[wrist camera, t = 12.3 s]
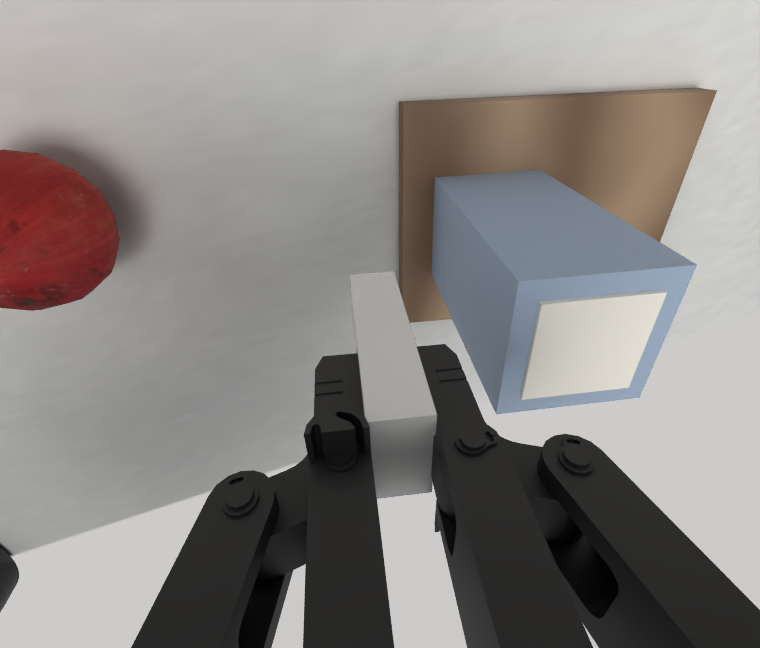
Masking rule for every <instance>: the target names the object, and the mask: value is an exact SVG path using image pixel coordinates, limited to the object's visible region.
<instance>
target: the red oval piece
mask: <svg viewBox="0 0 760 648" xmlns="http://www.w3.org/2000/svg"><path fill="white" fill-rule="evenodd" d="M118 244H119V236H118V231H117V227H116V222H115V218H114V215H113V213H112V211H111V210H110V208H109V207H108V205H107V203H106V202H105V200H104V199H103V197H102V195H101V194H100V192H99V190H98V189H97V188H95V187H94V186H93V185H92V184H91V183H90V182H88V181H87V180H86V179H85V178H84V177H83V176H81V175H80V174H79V173H78V172H76V171H74V170H72V169H70V168H68V167H66V166H64V165H62V164H60V163H57V162H55V161H53V160H51V159H49V158H47V157H44V156H42V155H39V154H36V153H28V152H19V151H10V150H0V308H9V309H20V310H42V309H46V308H50V307H54V306H58V305H62V304H66V303H70V302H73V301H76V300H79V299H82V298H84V297H85V296H86V295H88V294H89V293H90V292H91V291H93V290H94V289H95V288H96V287H97V286H98V285H99V284H100V283H101V282H102V281H103V280H104V279H105V278H106V277H107V276H108V275H109V274H110V273H111V272H112V269H113V267H114V264H115V261H116V255H117V250H118Z"/></svg>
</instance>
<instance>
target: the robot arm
mask: <svg viewBox="0 0 760 648" xmlns="http://www.w3.org/2000/svg"><path fill="white" fill-rule="evenodd" d="M350 283H351V296H352V308H353V321H354V334H355V345H356V354H345V355H334V356H323V357H322V359H321V360H320V362H319V364H318V365H317V367H316V369H315V397H314V417H313V418H312V419H311V420H310V421H309V423H308V424H307V426H306V429H305V432H304V438H305V443H306V448H307V453H308V454H307V455H306V457H305V458H304V459H303V460H302V461H301V462H300V463H298V464H297V465H296V466H294V467H292V468H290V469H288V470H286V471H284V472H281V473H279V474H277V475H274V476H272V477H270V478H268V477H267V476H266V475H265V474H264V473H260V472H257V471H253V470H252V471H240V472H238V473H235V474H233V475H230V476H228V477H227V478H225V479H224V480H223V481H221V482H220V483H219V484H217V485H216V487H215V488H214V489H213V491H212V492H211V493H210V495H209V496H208V498H207V500H206V502H205V504H204V506H203V508H202V510H201V512H200V514H199V516H198V518H197V520H196V522H195V524H194V526H193V528H192V530H191V532H190V534H189V535H188V537H187V539H186V541H185V543H184V545H183V547H182V549H181V551H180V553H179V555H178V557H177V559H176V561H175V563H174V565H173V567H172V569H171V571H170V573H169V575H168V577H167V579H166V581H165V582H164V584H163V586H162V589H161V591H160V592H159V594H158V596H157V598H156V600H155V602H154V604H153V606H152V608H151V610H150V612H149V614H148V616H147V618H146V620H145V622H144V624H143V626H142V628H141V630H140V632H139V633H138V635H137V637H136V640H135V641H134V643H133V645H132V647H131V648H271V646H272V643H273V640H274V636H275V633H276V628H277V625H278V622H279V618H280V615H281V611H282V608H283V604H284V601H285V597H286V594H287V590H288V586H289V583H290V579H291V576H292V572H293V570H294V569H296V568H298V567H300V566H302V565H304V564H306V576H305V607H304V609H305V610H304V638H303V640H304V641H303V648H394V644H393V634H392V625H391V617H390V608H389V600H388V591H387V583H386V575H385V566H384V558H383V550H382V541H381V532H380V524H379V515H378V507H377V498H386V497H394V496H403V495H411V494H419V493H428V492H432V481H433V485H434V489H435V493H436V497H437V501H436V513H435V532H439V531H440V532H441V536H442V541H443V545H444V549H445V554H446V558H447V562H448V567H449V571H450V575H451V579H452V583H453V588H454V592H455V597H456V601H457V605H458V609H459V614H460V618H461V622H462V627H463V631H464V635H465V639H466V644H467V648H593V646H592V644H591V642H590V640H589V637H588V635H587V633H586V631H585V628H584V626H585V627H586V629H587V630H588V632H589V633H590V635H591V636H592V638H593V639H594V640H595V642H596V643H597V645H598V647H599V648H760V610H759V609H758V608H757V607H756V606H755V605H754V604H753V603H752V602H751V601H750V600H749V599H748V598H747V597H746V596H745V595H744V594H743V593H742V592H741V591H740V590H739V589H738V588H737V587H736V586H735V585H734V584H733V583H732V582H731V580H730V579H729V578H727V577H726V575H725V574H724V573H723V572H722V571H720V569H719V568H718V567H717V566H716V565H715V564H714V563H713V562H712V561H711V560H710V559H709V558H708V557H707V556H706V555H705V554H704V553H703V552H702V551H701V550H700V549H699V548H698V547H697V546H696V545H695V544H694V543H693V542H692V541H691V540H690V539H689V538H688V537H687V536H686V535H685V534H684V533H683V532H682V531H681V530H680V529H679V528H678V527H677V526H676V525H675V524H674V523H673V522H672V521H671V520H670V519H669V518H668V517H667V516H666V515H665V514H664V513H663V512H662V511H661V510H660V509H659V508H658V507H657V506H656V505H655V504H654V503H653V502H652V501H651V500H650V499H649V498H648V497H647V496H646V495H645V494H644V493H643V492H642V491H641V490H640V489H639V488H638V487H637V486H636V485H635V483H634V482H633V481H631V479H630V478H629V477H628V476H627V475H626V474H625V473H624V472H623V471H622V470H621V469H620V468H619V467H618V466H617V465H616V464H615V463H614V462H613V461H612V460H610V458H609V457H608V456H607V455H606V454H605V453H604V452H603V451H602V450H601V449H599V448H598V447H597V446H596V445H594V444H593V443H592V442H590V441H588V440H586V439H583V438H581V437H579V436H574V435H568V434H563V435H556V436H553V437H551V438H550V439H548V440H547V441H546V442H545V444H544V446H543V447H539V446H533V445H527V444H520V443H516V442H512V441H509V440H507V439H504V438H502V437H500V436H499V435H498V434H497V432H496V431H495V430H494V429H492V428H491V427H490V426H488V425H487V424H486V423H485V421H484V419H483V417H482V415H481V412H480V410H479V407H478V405H477V403H476V400H475V398H474V395H473V393H472V391H471V388H470V386H469V383H468V381H467V380H466V376H465V374H464V371H463V370H462V367H461V364H460V362H459V359H458V357H457V355H456V354H455V353H454V352H453V351H452V350H451V349H450V348H449V347H447V346H446V345H445V344H441V345H430V346H419V347H417V346H416V343H415V340H414V336H413V333H412V330H411V326H410V323H409V320H408V316H407V313H406V310H405V306H404V303H403V300H402V296H401V293H400V290H399V286H398V283H397V280H396V276H395V273H394V271H390V272H377V273H364V274H352V275H350ZM18 578H19V571H18V568H17V566H16V563H15V562H14V560H13V559H12V558H11V557H10V556H9V555H8V554H7V553H6V552H5V551H4V550H3V549H2V548H0V612H1V610H2V609H3V607H4V605H5V604H6V602H7V600H8V598H9V597H10V595H11V593H12V591H13V589H14V588H15V586H16V584H17V582H18ZM582 623H583V624H584V626H583V624H582Z"/></svg>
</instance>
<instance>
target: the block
mask: <svg viewBox="0 0 760 648" xmlns="http://www.w3.org/2000/svg"><path fill="white" fill-rule="evenodd" d="M696 266H697V265H696V264H695V263H693V262H691V261H690V260H688V259H686V258H685V257H683V256H681V255H680V254H678V253H676V252H675V251H673V250H671V249H670V248H668V247H667V246H665V245H663V244H662V243H660V242H658V241H657V240H655V239H653V238H652V237H650V236H648V235H647V234H645V233H643V232H642V231H640V230H638V229H637V228H635V227H633V226H632V225H630V224H629V223H627V222H625V221H624V220H622V219H620V218H619V217H617V216H615V215H614V214H612V213H610V212H609V211H607V210H605V209H604V208H602V207H600V206H599V205H597V204H596V203H594V202H592V201H591V200H589V199H587V198H586V197H584V196H582V195H581V194H579V193H577V192H576V191H574V190H572V189H571V188H569V187H567V186H566V185H564V184H562V183H561V182H559V181H558V180H556V179H554V178H553V177H551V176H549V175H548V174H546V173H544V172H543V171H541V170H530V171H517V172H503V173H490V174H476V175H463V176H450V177H436V178H435V187H434V217H433V247H432V276H433V278H434V281H435V283H436V285H437V287H438V289H439V291H440V294H441V296H442V298H443V300H444V302H445V304H446V306H447V309H448V311H449V313H450V315H451V317H452V319H453V322H454V324H455V326H456V328H457V330H458V332H459V335H460V337H461V339H462V341H463V343H464V345H465V348H466V350H467V352H468V354H469V356H470V358H471V361H472V363H473V365H474V367H475V369H476V371H477V374H478V376H479V378H480V380H481V382H482V384H483V387H484V389H485V391H486V393H487V395H488V397H489V399H490V402H491V404H492V406H493V408H494V410H495V412H496V414H502V413H510V412H519V411H527V410H537V409H545V408H553V407H562V406H571V405H579V404H588V403H597V402H606V401H614V400H622V399H631V398H639V397H640V395H641V393H642V390H643V388H644V385H645V384H646V381H647V378H648V376H649V374H650V372H651V370H652V367H653V364H654V363H655V360H656V358H657V356H658V354H659V351H660V349H661V347H662V344H663V342H664V340H665V337H666V335H667V333H668V330H669V328H670V326H671V324H672V321H673V319H674V317H675V314H676V312H677V310H678V307H679V305H680V303H681V300H682V298H683V296H684V294H685V291H686V289H687V287H688V284H689V282H690V280H691V277H692V275H693V273H694V270H695V268H696Z"/></svg>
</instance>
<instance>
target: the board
mask: <svg viewBox="0 0 760 648" xmlns="http://www.w3.org/2000/svg"><path fill="white" fill-rule="evenodd" d="M716 92H717V90H709V89H701V88H684V89H662V90H641V91H619V92H598V93H576V94H555V95H533V96H512V97H490V98H468V99H447V100H425V101H404V102H399V215H400V293H401V296H402V300H403V303H404V306H405V310H406V313H407V316H408V320H409V323H411V322H422V321H433V320H445V319H452V317H451V315H450V313H449V311H448V309H447V306H446V304H445V302H444V300H443V298H442V296H441V294H440V291H439V289H438V287H437V285H436V283H435V281H434V278H433V276H432V247H433V217H434V187H435V178H436V177H450V176H463V175H476V174H490V173H503V172H517V171H530V170H541V171H543V172H544V173H546V174H548V175H549V176H551V177H553V178H554V179H556V180H558V181H559V182H561V183H562V184H564V185H566V186H567V187H569V188H571V189H572V190H574V191H576V192H577V193H579V194H581V195H582V196H584V197H586V198H587V199H589V200H591V201H592V202H594V203H596V204H597V205H599V206H600V207H602V208H604V209H605V210H607V211H609V212H610V213H612V214H614V215H615V216H617V217H619V218H620V219H622V220H624V221H625V222H627V223H629V224H630V225H632V226H633V227H635V228H637V229H638V230H640V231H642V232H643V233H645V234H647V235H648V236H650V237H652V238H653V239H655V240H657V241H658V242H660V240H661V237H662V235H663V232H664V229H665V227H666V224H667V221H668V219H669V216H670V214H671V211H672V208H673V206H674V203H675V200H676V198H677V195H678V192H679V190H680V187H681V184H682V182H683V179H684V176H685V174H686V171H687V168H688V166H689V163H690V161H691V158H692V155H693V153H694V150H695V147H696V145H697V142H698V139H699V137H700V134H701V131H702V129H703V126H704V123H705V121H706V118H707V115H708V113H709V110H710V108H711V105H712V102H713V100H714V97H715V94H716Z"/></svg>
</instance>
